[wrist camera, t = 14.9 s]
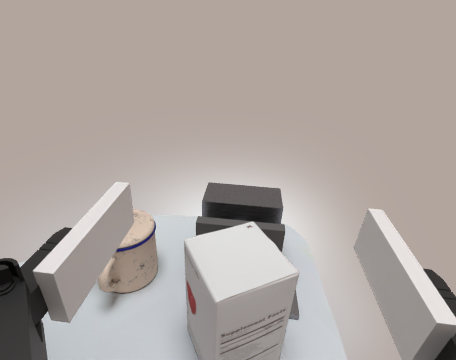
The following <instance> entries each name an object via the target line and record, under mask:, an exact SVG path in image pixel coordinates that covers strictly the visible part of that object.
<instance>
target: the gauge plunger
mask: <svg viewBox="0 0 456 360" xmlns="http://www.w3.org/2000/svg"><path fill="white" fill-rule="evenodd" d="M249 222H252V221H242V220H231V219H221V218H210V217H200V216H198V218H197V221H196V236H198V235H202V234H206V233H210V232H215V231H219V230H223V229H227V228H230V227H234V226H238V225H242V224H245V223H249ZM254 223H255V224H256V225H257V226H258V227H259V228H260V229H261V230H262V232H263V233H264V234H265V235H266V236H267V237H268V238H269V239H270V240H271V241H272V242H274V244H275V245H276V246H277V248H278V249H279V250H280V252H281V253H282V247H283V241H284V236H285V226H284V224H274V223H263V222H254Z"/></svg>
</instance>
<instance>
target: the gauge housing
mask: <svg viewBox="0 0 456 360" xmlns="http://www.w3.org/2000/svg"><path fill="white" fill-rule="evenodd" d="M282 212H283V205H282V198H281V191H280V189H279V188H267V187H255V186H244V185H232V184H220V183H208V186H207V189H206V192H205V195H204V198H203V200H202V217H210V218H221V219H231V220H242V221H253V222H263V223H274V224H281V218H282ZM289 318H290V319H298V318H299V310H298V303H297V296H296V289H295V293H294V297H293V302H292V306H291V310H290V315H289Z"/></svg>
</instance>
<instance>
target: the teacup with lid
mask: <svg viewBox="0 0 456 360" xmlns="http://www.w3.org/2000/svg"><path fill="white" fill-rule="evenodd" d="M133 215H134V224H133V225H132V227H131V228H130V230H129V231H128V233H127V235H126V236H125V238H124V239H123V241H122V242H121V244H120V245H119V247H118V249H117V250H116V252H115V253H114V255H113V256H112V258H111V259H110V261H109V262H108V264H107V266H106V267H105V269H104V270H103V272H102V273H101V275H100V276H99V278H98V284H99V287H100V289H101V290H102V291H104V292H112V291H114V292H119V293H126V292H132V291H136V290H138V289H140V288H142V287H144V286H146V285H147V284H148V283H150V282H151V281H152V279H153V278H154V277H155V275H156V273H157V270H158V261H157V251H156V240H155V229H156V224H155V221H154V220H153V218H152V217H151V216H150V215H149V214H147V213H146V212H144V211H141V210H136V209H133Z"/></svg>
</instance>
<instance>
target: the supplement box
mask: <svg viewBox="0 0 456 360" xmlns="http://www.w3.org/2000/svg"><path fill="white" fill-rule="evenodd" d="M184 251H185V275H186V300H187V328H188V331H189V333H190V336H191V339H192V342H193V344H194V347H195V350H196V353H197V355H198V358H199V360H279V358H280V353H281V349H282V344H283V340H284V336H285V332H286V327H287V323H288V319H289V315H290V310H291V306H292V302H293V297H294V293H295V289H296V285H297V281H298V277H299V274H300V273H299V271H298V270H297V269H296V268H295V267H294V266H293V265H292V264H291V263H290V262H289V260H288V259H287V258H286V257H285V256H284V255H283V254H282V253H281V252H280V250H279V249H278V248H277V246H276V245H275V244H274V242H272V241H271V240H270V239H269V238H268V237H267V236H266V235H265V234H264V233H263V232H262V230H261V229H260V228H259V227H258V226H257V225H256V224H255V223H254V222H253V221H252V222H249V223H245V224H242V225H238V226H234V227H230V228H227V229H223V230H219V231H215V232H210V233H206V234H202V235H198V236H194V237H191V238H188V239H185V240H184Z"/></svg>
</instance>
